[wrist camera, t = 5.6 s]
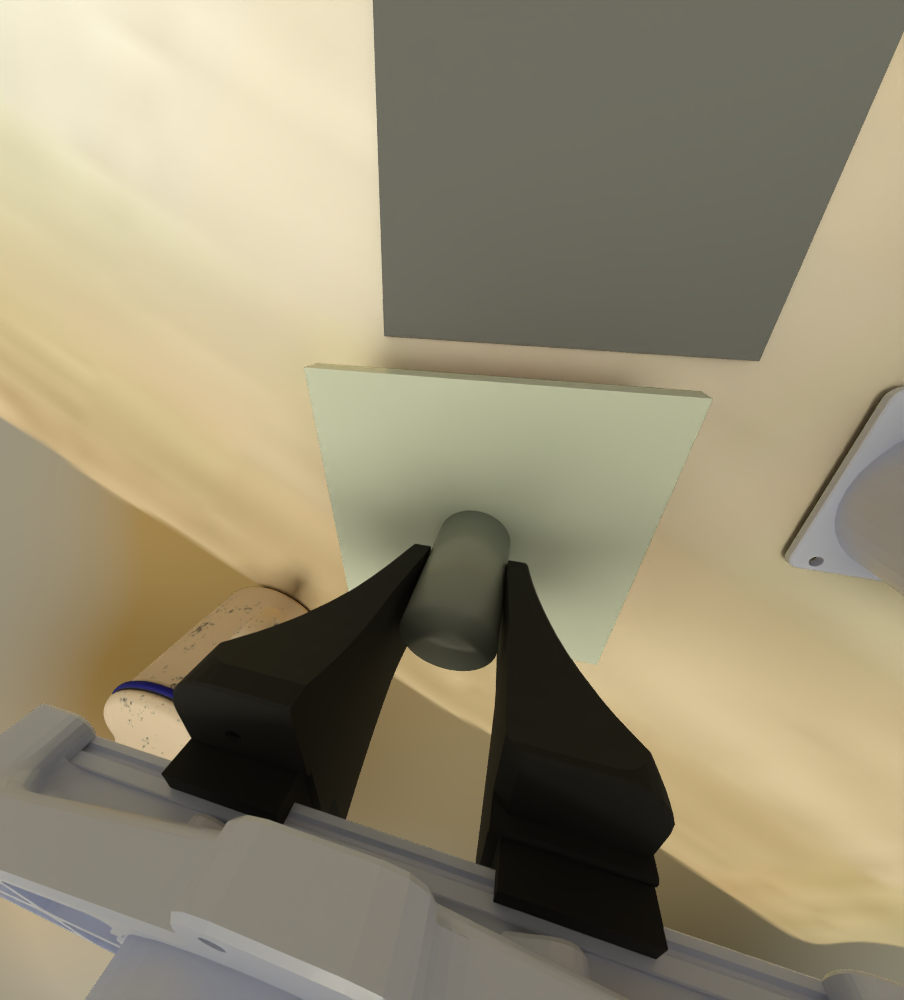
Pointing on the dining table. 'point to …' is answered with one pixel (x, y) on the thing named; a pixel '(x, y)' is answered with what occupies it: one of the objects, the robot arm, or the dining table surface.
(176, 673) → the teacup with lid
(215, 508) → the dining table surface
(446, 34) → the mat
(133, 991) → the robot arm
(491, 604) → the lid
